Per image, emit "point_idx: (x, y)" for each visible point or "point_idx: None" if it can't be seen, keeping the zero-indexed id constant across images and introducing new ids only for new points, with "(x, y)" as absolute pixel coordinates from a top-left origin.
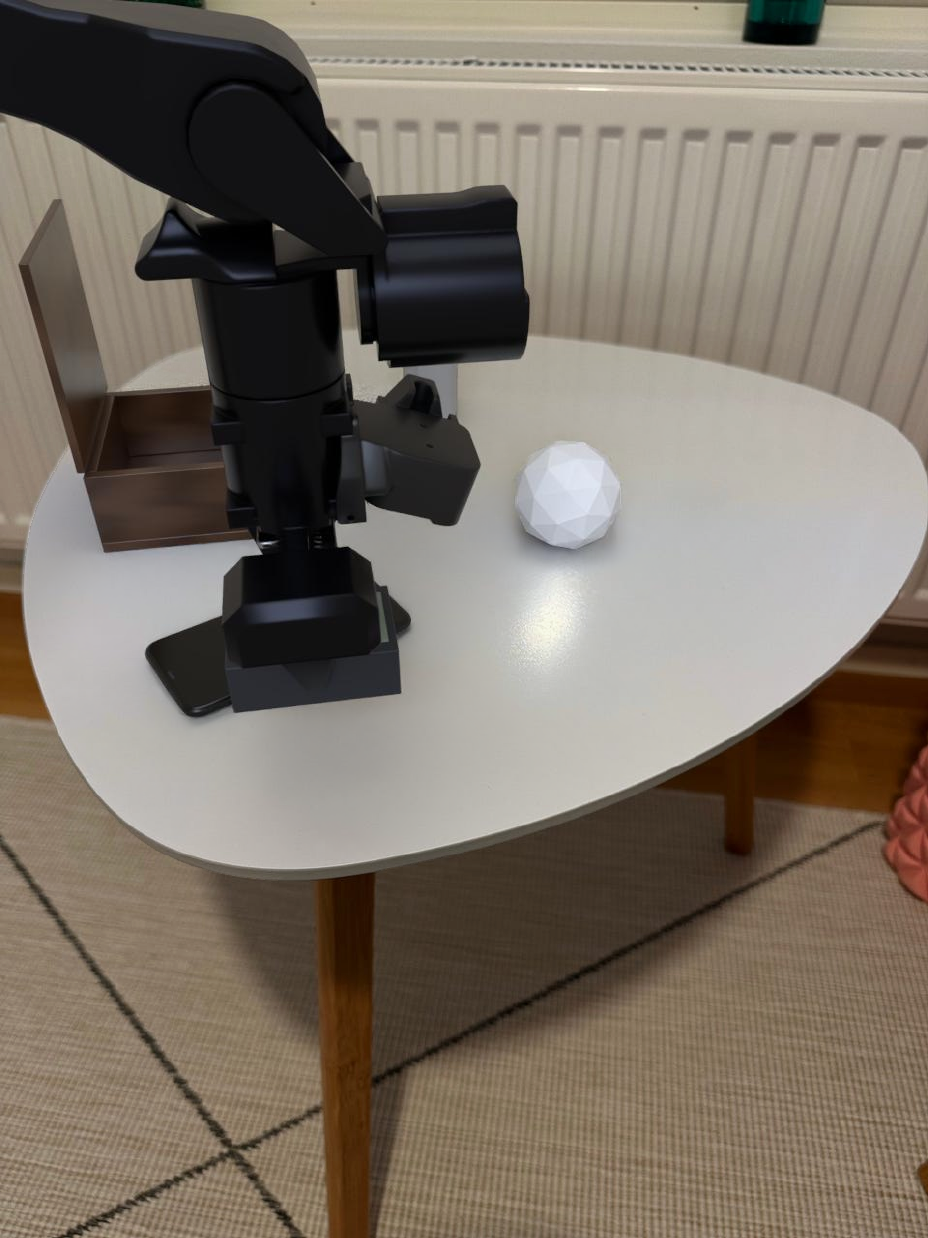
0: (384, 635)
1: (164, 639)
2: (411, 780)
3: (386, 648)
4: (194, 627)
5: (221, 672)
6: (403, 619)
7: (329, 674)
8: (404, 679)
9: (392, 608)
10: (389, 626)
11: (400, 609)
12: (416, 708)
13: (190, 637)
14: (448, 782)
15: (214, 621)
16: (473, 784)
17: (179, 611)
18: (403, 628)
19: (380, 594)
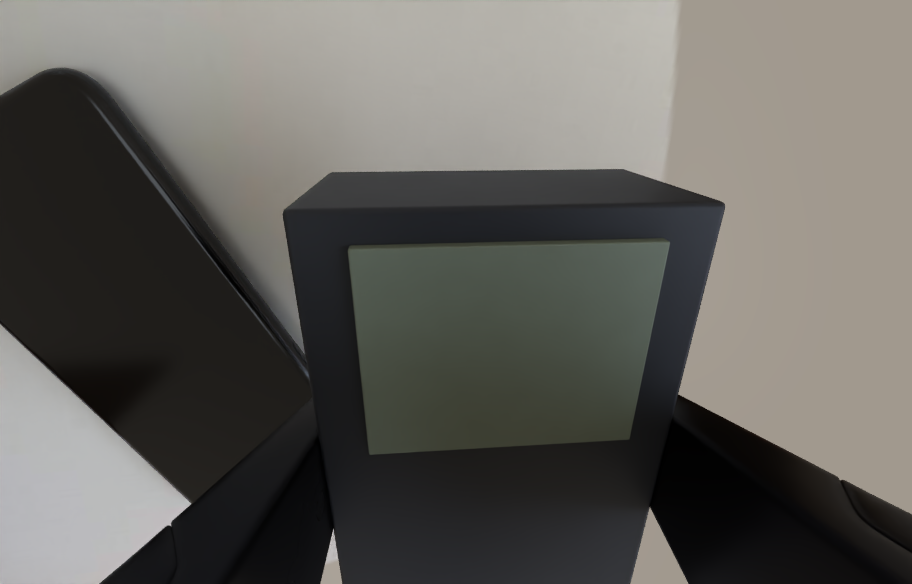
0: (640, 254)
1: (195, 500)
2: (535, 130)
3: (701, 249)
4: (158, 467)
5: (274, 424)
6: (75, 89)
7: (691, 401)
8: (268, 110)
9: (33, 112)
10: (573, 226)
11: (34, 92)
12: (356, 96)
13: (186, 470)
14: (555, 61)
15: (138, 443)
16: (572, 10)
17: (99, 476)
18: (104, 92)
19: (369, 250)
